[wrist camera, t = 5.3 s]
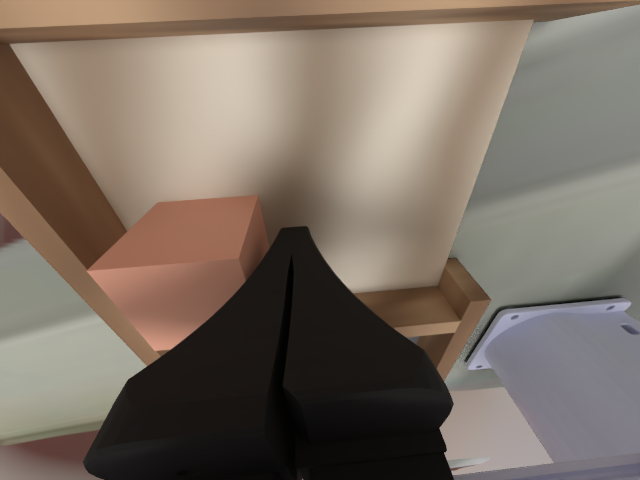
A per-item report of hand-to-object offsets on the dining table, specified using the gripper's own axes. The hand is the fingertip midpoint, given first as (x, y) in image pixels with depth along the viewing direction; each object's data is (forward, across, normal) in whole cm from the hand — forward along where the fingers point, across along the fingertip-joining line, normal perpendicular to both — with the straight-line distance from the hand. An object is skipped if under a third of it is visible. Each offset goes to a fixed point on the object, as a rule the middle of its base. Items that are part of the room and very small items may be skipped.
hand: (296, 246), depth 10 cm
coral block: (+1, +3, 0) cm, 4 cm away
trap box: (+2, 0, +6) cm, 6 cm away
